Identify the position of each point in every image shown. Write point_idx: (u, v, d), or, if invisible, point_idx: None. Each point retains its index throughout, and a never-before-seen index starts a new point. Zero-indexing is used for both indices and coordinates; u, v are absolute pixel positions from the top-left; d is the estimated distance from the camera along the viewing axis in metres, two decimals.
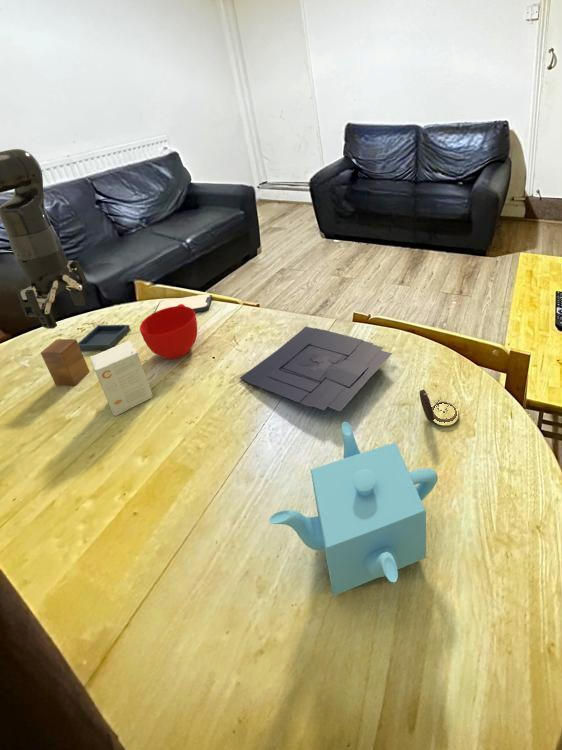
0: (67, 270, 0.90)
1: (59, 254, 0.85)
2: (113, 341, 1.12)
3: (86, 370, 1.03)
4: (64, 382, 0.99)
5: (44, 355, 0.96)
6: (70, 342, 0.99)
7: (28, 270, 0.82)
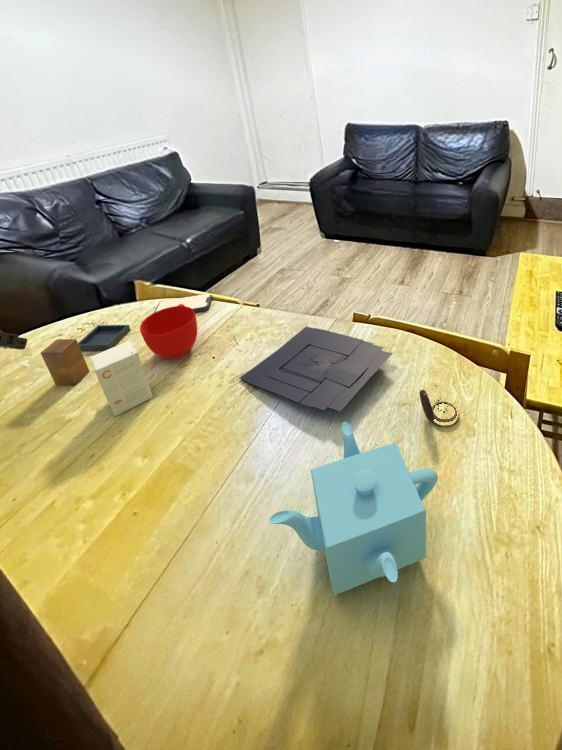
0: None
1: None
2: (113, 341, 1.12)
3: (86, 370, 1.03)
4: (64, 382, 0.99)
5: (44, 355, 0.96)
6: (70, 342, 0.99)
7: None
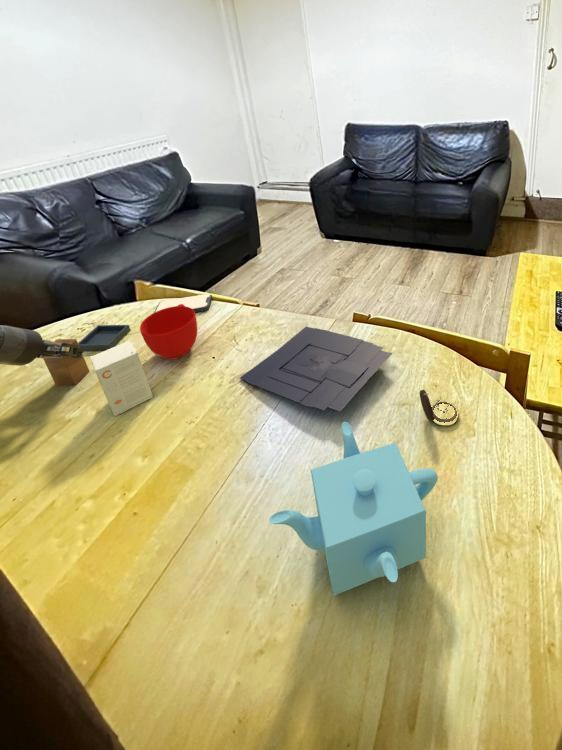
0: (47, 354, 0.91)
1: (8, 364, 0.85)
2: (113, 341, 1.12)
3: (86, 370, 1.03)
4: (64, 382, 0.99)
5: None
6: (70, 342, 0.99)
7: None
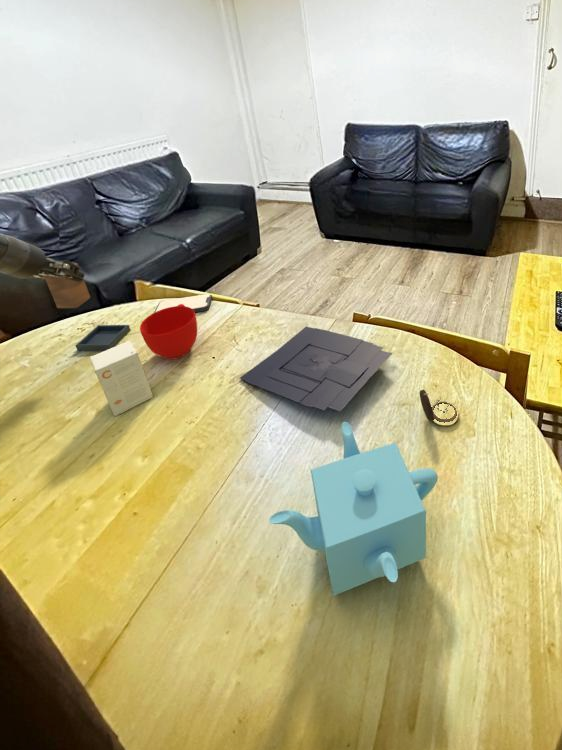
0: (50, 270, 0.93)
1: (12, 274, 0.88)
2: (113, 341, 1.12)
3: (87, 295, 1.05)
4: (65, 304, 1.02)
5: (47, 275, 0.98)
6: None
7: None
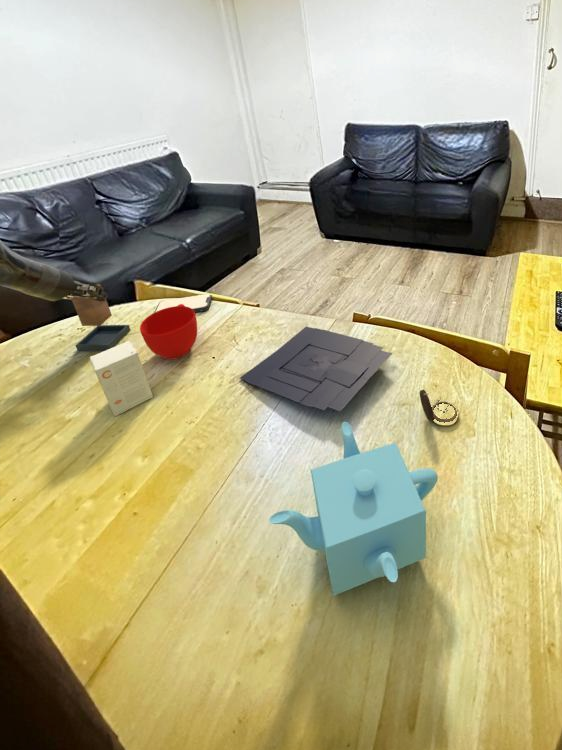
0: (77, 292, 1.02)
1: (44, 298, 0.96)
2: (113, 341, 1.12)
3: (109, 313, 1.14)
4: (90, 322, 1.10)
5: None
6: None
7: None
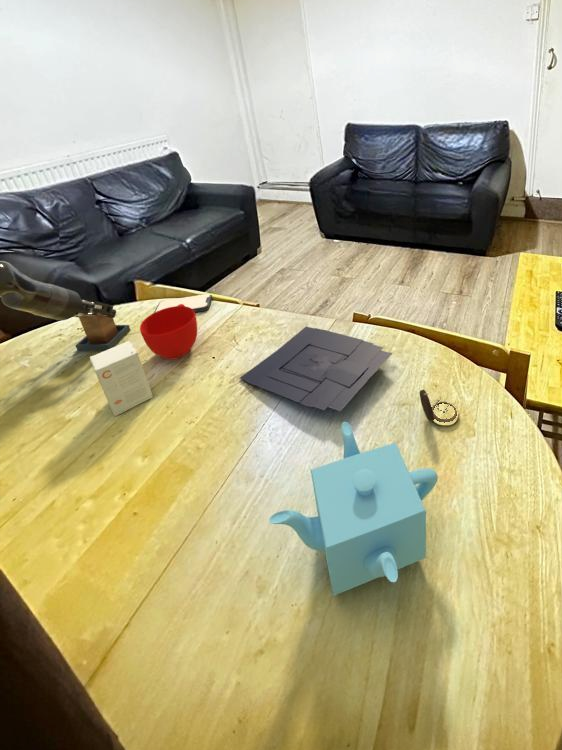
0: (84, 311, 1.04)
1: (53, 318, 0.98)
2: (113, 341, 1.12)
3: (116, 332, 1.16)
4: (97, 341, 1.13)
5: (81, 316, 1.09)
6: None
7: None
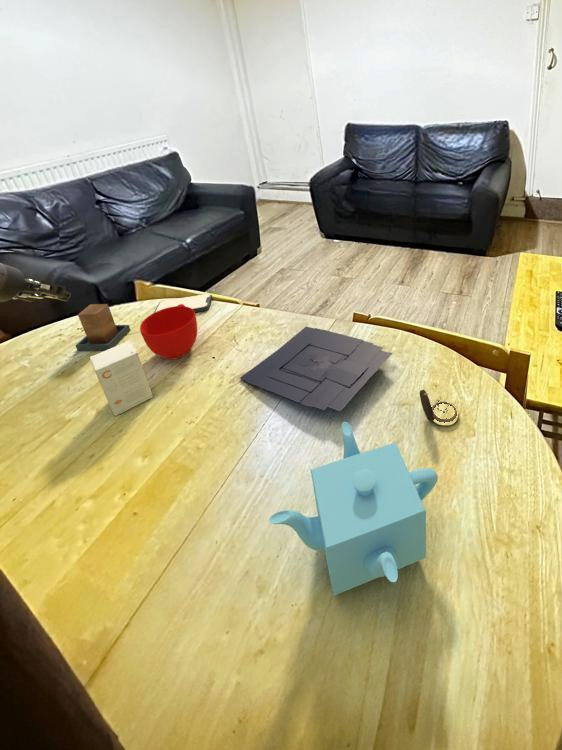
0: (29, 292, 0.89)
1: None
2: (113, 341, 1.12)
3: (116, 332, 1.16)
4: (97, 341, 1.13)
5: (81, 316, 1.09)
6: (103, 306, 1.12)
7: None
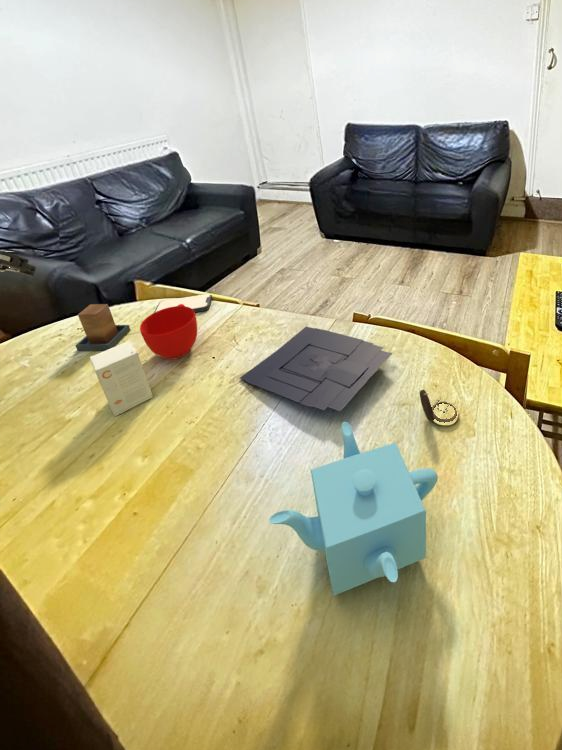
0: None
1: None
2: (113, 341, 1.12)
3: (116, 332, 1.16)
4: (97, 341, 1.13)
5: (81, 316, 1.09)
6: (103, 306, 1.12)
7: None
